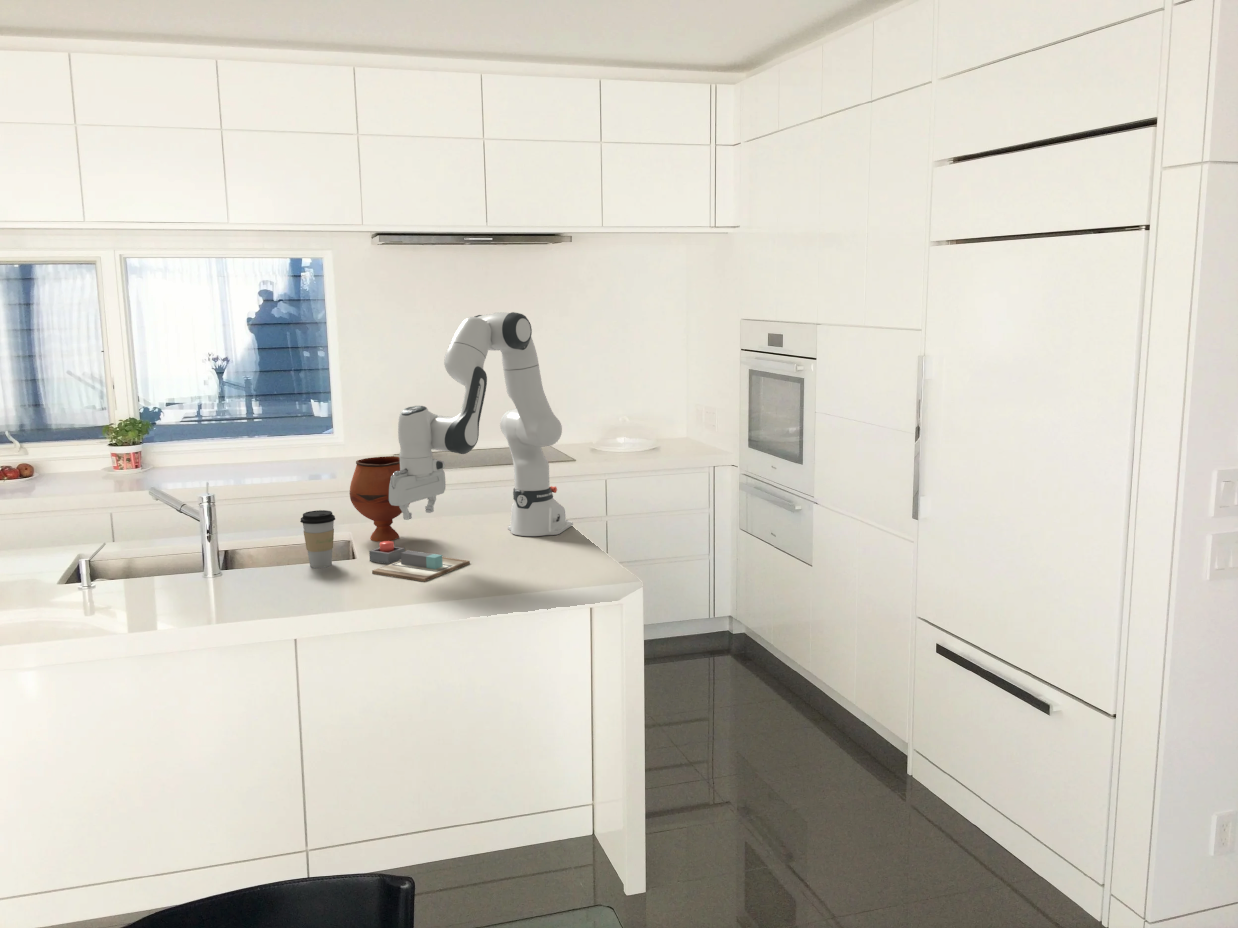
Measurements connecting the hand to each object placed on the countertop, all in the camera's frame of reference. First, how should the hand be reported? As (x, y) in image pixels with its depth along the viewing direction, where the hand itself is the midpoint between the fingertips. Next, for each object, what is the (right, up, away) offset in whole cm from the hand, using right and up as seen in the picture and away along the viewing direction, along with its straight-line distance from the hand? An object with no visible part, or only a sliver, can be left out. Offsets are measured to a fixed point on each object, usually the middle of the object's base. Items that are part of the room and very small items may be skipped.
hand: (418, 515), depth 277 cm
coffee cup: (-29, -15, +7) cm, 33 cm away
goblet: (-18, -9, +37) cm, 42 cm away
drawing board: (0, -15, +2) cm, 15 cm away
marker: (0, -14, +2) cm, 14 cm away
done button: (-11, -11, +12) cm, 20 cm away
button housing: (-11, -13, +12) cm, 21 cm away
